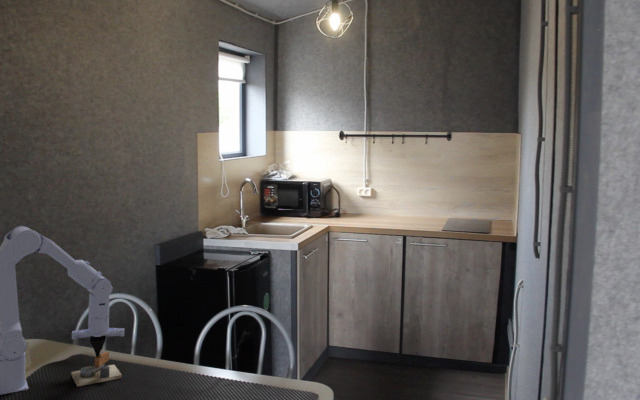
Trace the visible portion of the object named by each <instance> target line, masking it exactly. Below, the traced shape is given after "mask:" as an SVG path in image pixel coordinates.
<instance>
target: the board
mask: <svg viewBox="0 0 640 400" xmlns="http://www.w3.org/2000/svg"><path fill="white" fill-rule="evenodd" d="M108 366H109V377H108V378H101V377H100V369H99V370H97V371H95V375H94V376H92V377H88V378H83V377H81V376H80V370H75V371H71V372H70V373H71V374H70V375H71V377H72V379H73V381H74V383H75V384H76V386H77V387H82V386H87V385H92V384H97V383H104V382H109V381H113V380H119V379H123V375H122V373H121V372H120V370H119V368H118V367H117V366H116V365H115V364H109V365H108Z"/></svg>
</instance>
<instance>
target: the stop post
mask: <svg viewBox="0 0 640 400" xmlns="http://www.w3.org/2000/svg"><path fill="white" fill-rule="evenodd" d="M100 377H101V378H108V377H109V365H105V366H103V367H101V368H100Z"/></svg>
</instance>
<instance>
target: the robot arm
mask: <svg viewBox="0 0 640 400" xmlns="http://www.w3.org/2000/svg"><path fill="white" fill-rule="evenodd" d="M34 252H36V253H38V254H47V256H49V257H51V258H52V259H53V260H55V261H56V262H58V263H59V264H60V265H62V266H63V267H65V268H66V269H67V276H68V277H69V278H71V279H73V281H75V282H76V283H77V284H79V285H80V286H82V287H83V288H84V289H86V291H87V292H89V293H88V323H87V324H88V326H87V327H88V328H86V329H79V330H72V332H71V340H76V339H83V338H84V339H86V338H87V339H88V338H89V342H90V345H91V346H92V348H93V351H94V353H95V357H97V356H99V355H100V354H101V351H102V348H103V346H104V345H105V342H106V341H107V340H106V339H107V337H125V327H124V328H123V327H122V328H121V327H110V296H111V294H112V293H113V289H114V287H113V286H112V282H111V281H110V280H109V279H108V278H106V277H105V276H103V273H102V272H101V271H97V270H96V269H95V268H94V267H92V266H91V262H89V261H88V260H85V261H84V260H83V259H74V258H73V257H72V256H71V255H69V253H67V251H65V250H63V249H62V248H61V247H60V246H59V245H57V244H56V242H54V241H53V240H52V239H50V238H48V237H45V236H44V235H42V234H41V233H40V232H39V233H38V232H37V231H36V230H33V229H31V228H29V227H27V226H25V225H24V226H23V225H19V226H16V227H15V228H13V229H12V230H10V231H9V232H8V233H7V234H6V235H4V239H3V241H2V242H1V244H0V395H6V394H12V393H17V392H23V391H28V390H29V386H28V382H27V379H26V351H27V348H28V343H27V340H26V339H25V338H24V336H23V329H22V325H21V322H20V312H19V299H18V298H19V297H18V287H17V286H18V285H17V276H16V275H17V273H16V271H17V270H16V264H18V263H19V262H20V261H21V260H22V259H23V258H24V257H26V256H29V255H31V254H33V253H34Z"/></svg>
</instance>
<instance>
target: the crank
mask: <svg viewBox="0 0 640 400" xmlns="http://www.w3.org/2000/svg"><path fill="white" fill-rule="evenodd" d="M109 360H110V352H107V351H104V352H102V353H100V355H99V356H97V357H96V356H95V357H94V366H93V365H89V366H87V365H86V366H84V367H81V368H80V369H79V371H80V376H81V377H83V378H88V377H92V376H94V375H95V371H97V370H99V369H100V368H101V367H103V366H106V365H105V364H107V362H109Z"/></svg>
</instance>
